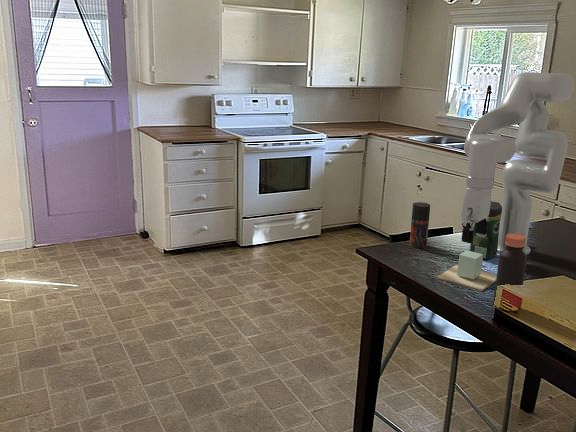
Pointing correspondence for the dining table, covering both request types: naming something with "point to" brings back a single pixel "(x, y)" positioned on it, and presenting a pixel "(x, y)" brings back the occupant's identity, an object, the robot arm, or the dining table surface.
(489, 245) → the coffee jar
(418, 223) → the deodorant
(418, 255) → the dining table surface
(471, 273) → the pale green rectangular prism
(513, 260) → the bottle
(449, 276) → the post stand
